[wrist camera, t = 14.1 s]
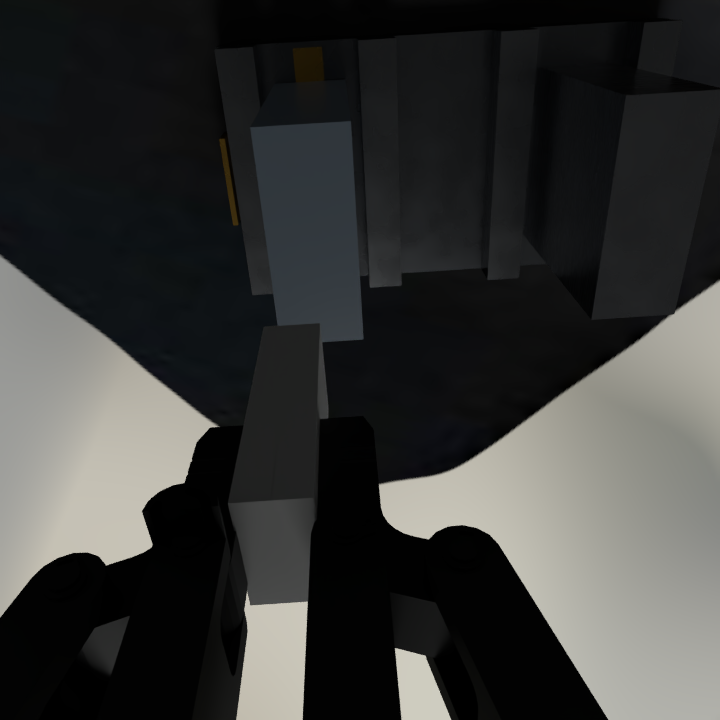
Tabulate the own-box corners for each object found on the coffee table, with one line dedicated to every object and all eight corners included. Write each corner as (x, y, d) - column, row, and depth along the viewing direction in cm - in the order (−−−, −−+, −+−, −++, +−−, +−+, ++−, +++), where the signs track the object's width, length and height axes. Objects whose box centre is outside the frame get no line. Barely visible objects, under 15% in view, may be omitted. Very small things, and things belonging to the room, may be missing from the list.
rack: (214, 45, 35) (155, 69, 23) (656, 18, 35) (816, 27, 24) (250, 274, 42) (218, 379, 30) (617, 250, 42) (725, 346, 31)
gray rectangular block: (274, 83, 35) (250, 127, 24) (345, 79, 35) (350, 121, 24) (293, 251, 40) (280, 344, 30) (355, 247, 40) (363, 339, 30)
